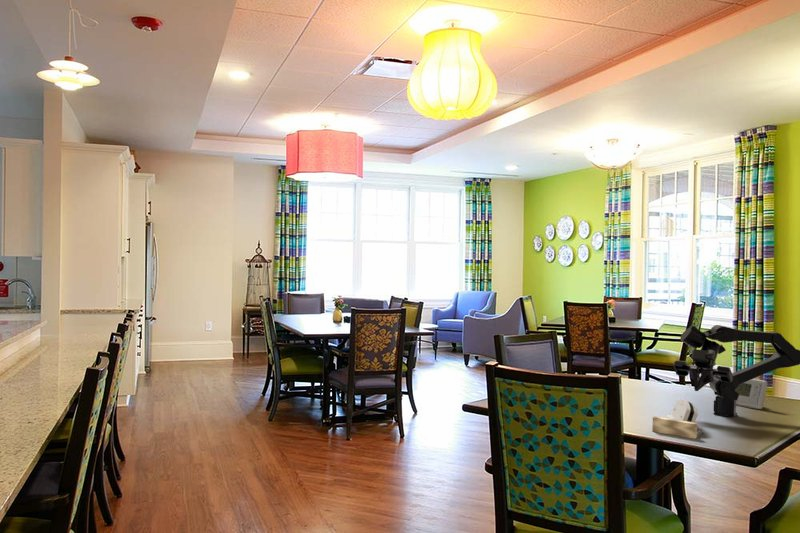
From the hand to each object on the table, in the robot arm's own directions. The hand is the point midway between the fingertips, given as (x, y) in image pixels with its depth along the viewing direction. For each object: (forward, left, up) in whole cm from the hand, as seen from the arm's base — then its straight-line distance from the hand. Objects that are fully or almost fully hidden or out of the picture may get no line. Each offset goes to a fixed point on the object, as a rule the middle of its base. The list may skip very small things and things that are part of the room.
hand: (695, 390), depth 229 cm
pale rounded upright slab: (+1, +12, -11) cm, 16 cm away
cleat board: (0, +21, -10) cm, 24 cm away
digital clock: (-8, -38, -11) cm, 40 cm away
